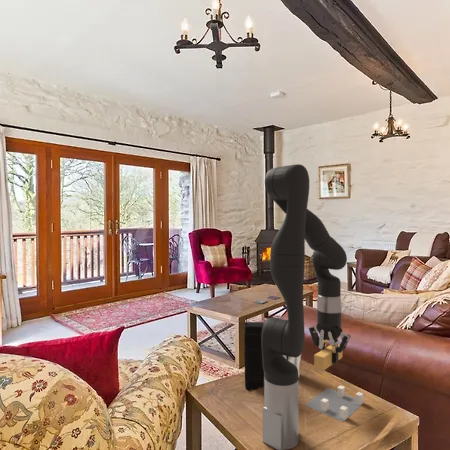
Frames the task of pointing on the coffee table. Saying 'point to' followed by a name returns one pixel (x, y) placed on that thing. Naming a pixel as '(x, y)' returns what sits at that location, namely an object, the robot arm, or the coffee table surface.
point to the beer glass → (294, 361)
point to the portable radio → (253, 355)
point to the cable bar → (325, 358)
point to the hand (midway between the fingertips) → (328, 361)
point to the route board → (336, 403)
